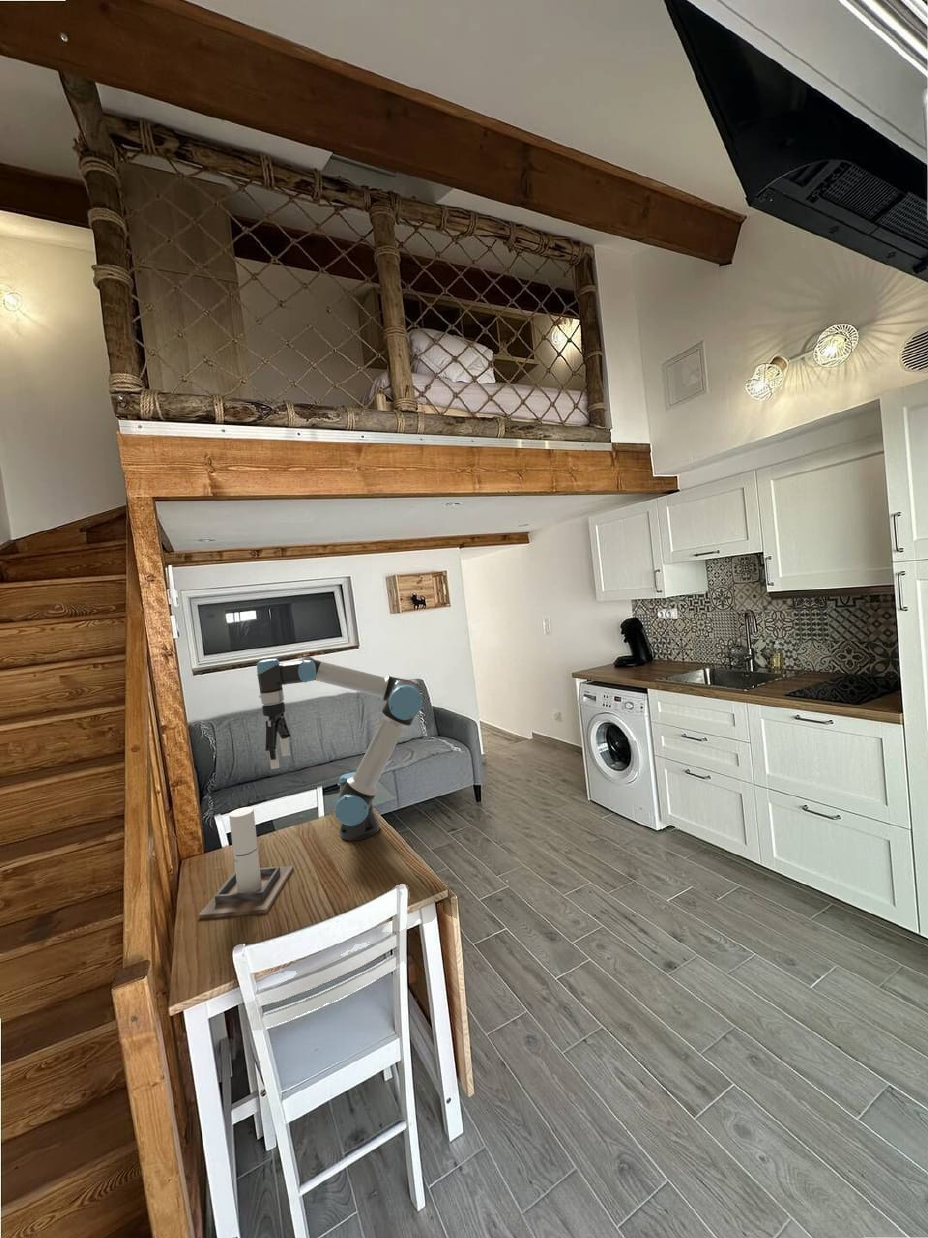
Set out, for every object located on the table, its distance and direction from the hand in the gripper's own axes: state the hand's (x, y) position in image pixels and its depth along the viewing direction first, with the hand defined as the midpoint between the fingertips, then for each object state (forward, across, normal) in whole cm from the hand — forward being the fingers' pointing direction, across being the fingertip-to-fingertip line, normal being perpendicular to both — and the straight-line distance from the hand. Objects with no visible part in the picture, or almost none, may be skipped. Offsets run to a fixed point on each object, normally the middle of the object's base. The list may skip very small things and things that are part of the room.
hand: (281, 761), depth 179 cm
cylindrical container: (+34, +19, -9) cm, 40 cm away
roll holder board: (+35, +20, -9) cm, 41 cm away
